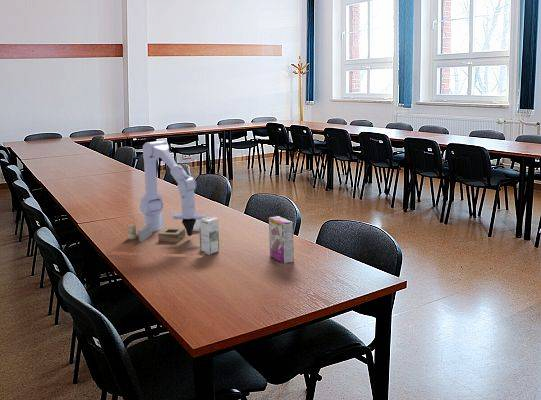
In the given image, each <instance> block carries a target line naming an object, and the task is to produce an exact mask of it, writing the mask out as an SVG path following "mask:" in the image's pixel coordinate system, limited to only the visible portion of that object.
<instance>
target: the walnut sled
mask: <svg viewBox="0 0 541 400" xmlns="http://www.w3.org/2000/svg"><path fill="white" fill-rule="evenodd" d="M157 236H158V242H160V243H161V242H162V243H163V242H164V243H179V242H180V241H181V240H183V239H184V238H185V237H186V229H185V227H184V228H183V227H182V228H180V227H165V228H164V229H163V230H160V232H158V234H157Z"/></svg>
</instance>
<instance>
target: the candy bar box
mask: <svg viewBox="0 0 541 400" xmlns="http://www.w3.org/2000/svg"><path fill="white" fill-rule="evenodd" d="M268 231H269V233H268V234H269V239H268V240H269V257H271V258H272V259H273V260H276V261H278V262H280V263H281V264H285V265H286V264H290V263H294V262H295V261H294V257H295V256H294V255H295V253H294V222H293V221H291V220H289V219H286V218H284V217H283V216H282V217H281V216H279V215H277V216H270V217H268Z"/></svg>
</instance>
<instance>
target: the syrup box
mask: <svg viewBox="0 0 541 400" xmlns="http://www.w3.org/2000/svg"><path fill="white" fill-rule="evenodd" d="M219 228H220V227H219V219H218V218H217V217H214V216H207V217H206V216H205V218H203V219H199V230H200V231H199V247H200V248H199V250H200V251H201V252H203V254H205V255H209V256H210V255H213V254H216V253H219V252H220V238H219V237H220V234H219V231H220V229H219Z"/></svg>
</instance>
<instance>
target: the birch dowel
mask: <svg viewBox="0 0 541 400" xmlns="http://www.w3.org/2000/svg"><path fill="white" fill-rule="evenodd" d="M136 226H137V225H136V224H133V223H132V224H128V225H127V226H126V227H127V229H126V230H127V236H128V237H127V238H128V240H137V229H136V228H137V227H136Z"/></svg>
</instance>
